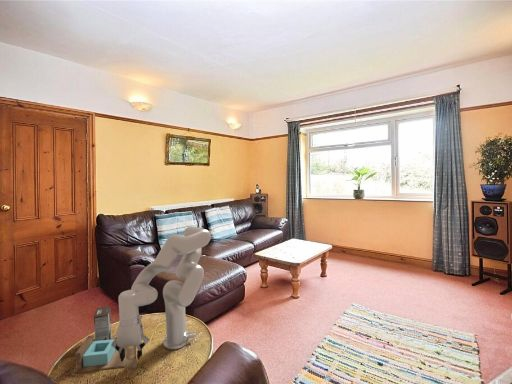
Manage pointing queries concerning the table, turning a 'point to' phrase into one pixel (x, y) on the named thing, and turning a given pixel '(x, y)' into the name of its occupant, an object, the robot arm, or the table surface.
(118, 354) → the backstop board
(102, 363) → the hole block
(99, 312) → the coffee box
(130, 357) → the dowel
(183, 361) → the table surface
